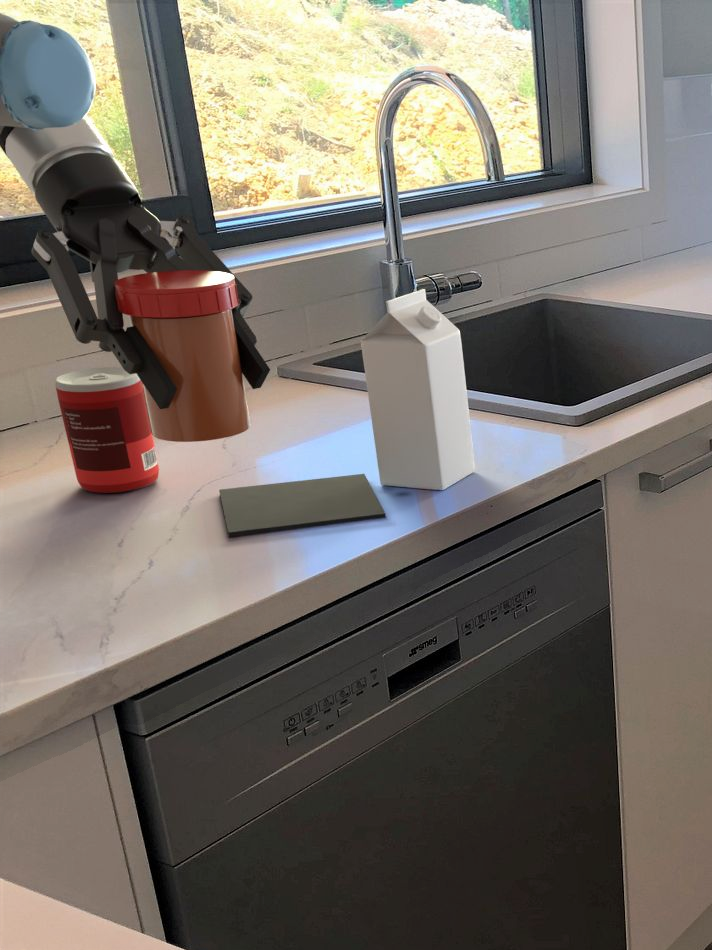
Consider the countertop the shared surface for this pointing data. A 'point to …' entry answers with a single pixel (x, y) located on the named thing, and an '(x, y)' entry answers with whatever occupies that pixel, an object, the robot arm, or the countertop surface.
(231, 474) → the countertop surface
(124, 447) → the canned food
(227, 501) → the mat
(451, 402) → the milk carton
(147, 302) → the jar lid
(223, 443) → the countertop surface
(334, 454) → the countertop surface
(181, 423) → the jar
